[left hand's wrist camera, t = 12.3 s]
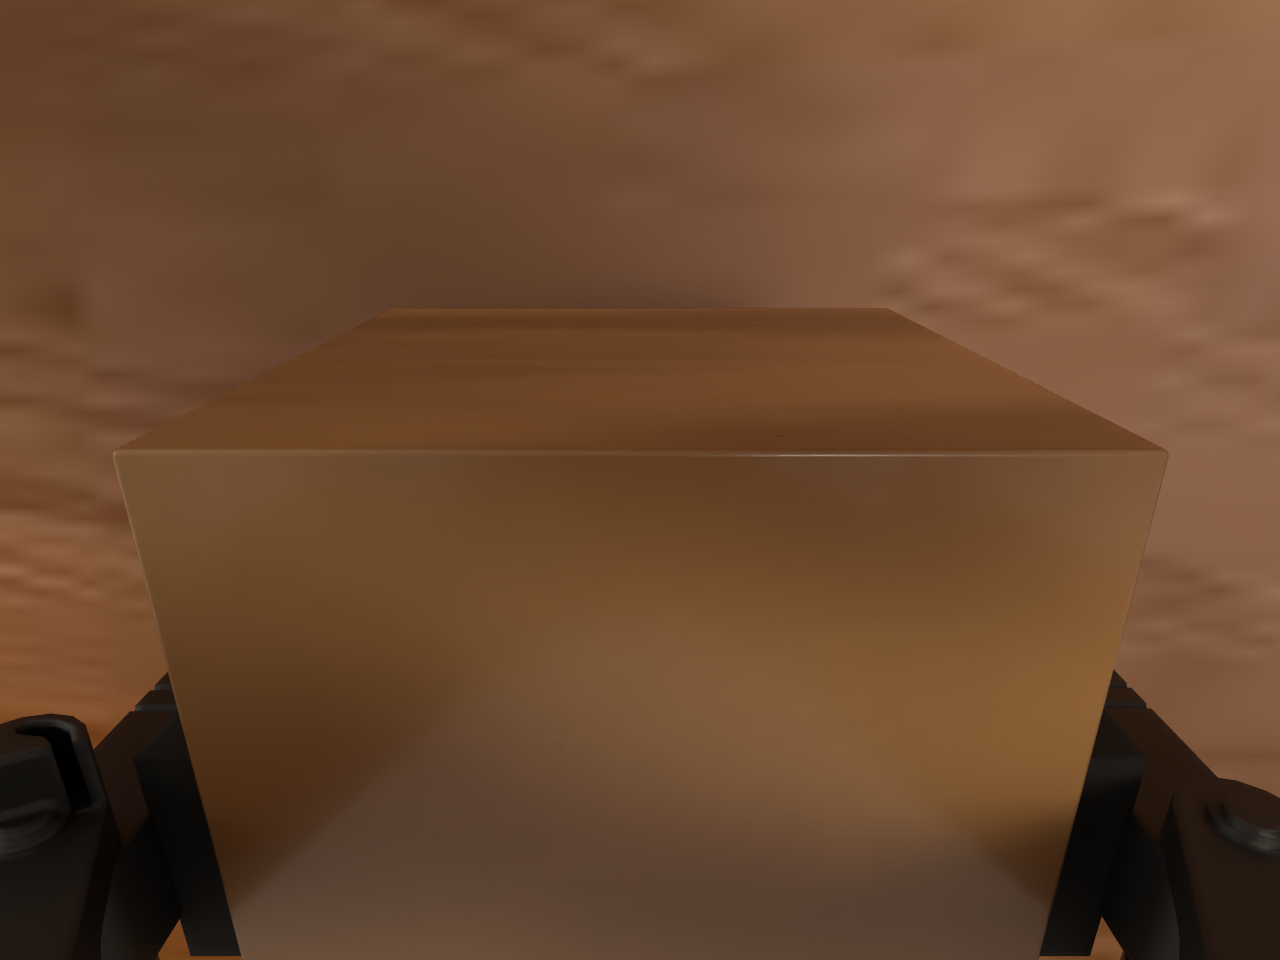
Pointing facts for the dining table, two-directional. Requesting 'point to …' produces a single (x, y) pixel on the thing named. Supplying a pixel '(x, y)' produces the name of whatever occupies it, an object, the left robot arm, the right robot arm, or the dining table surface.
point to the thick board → (640, 635)
